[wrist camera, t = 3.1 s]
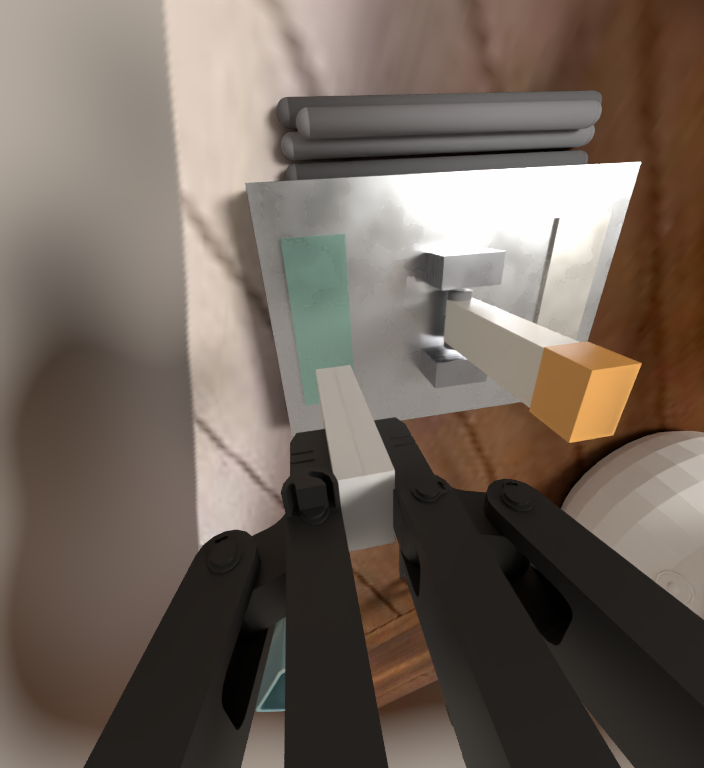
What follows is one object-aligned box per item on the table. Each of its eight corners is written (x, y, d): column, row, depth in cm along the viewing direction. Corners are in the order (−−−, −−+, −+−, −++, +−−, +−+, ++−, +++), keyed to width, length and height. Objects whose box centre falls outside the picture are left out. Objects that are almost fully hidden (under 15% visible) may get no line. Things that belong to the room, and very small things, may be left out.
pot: (742, 389, 38) (1045, 502, 23) (690, 518, 50) (868, 649, 35) (541, 457, 38) (714, 621, 22) (536, 571, 49) (648, 730, 34)
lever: (441, 290, 22) (595, 360, 11) (467, 287, 22) (645, 352, 11) (437, 343, 24) (566, 450, 13) (462, 340, 24) (609, 443, 13)
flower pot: (281, 582, 40) (280, 672, 32) (345, 588, 43) (358, 671, 35) (260, 623, 43) (253, 713, 35) (321, 626, 46) (327, 710, 38)
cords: (275, 102, 19) (273, 84, 17) (592, 94, 22) (629, 79, 19) (287, 191, 21) (286, 187, 19) (574, 174, 24) (605, 169, 21)
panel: (250, 187, 21) (237, 176, 15) (602, 168, 24) (690, 153, 19) (292, 417, 29) (292, 460, 24) (548, 380, 32) (598, 410, 27)
